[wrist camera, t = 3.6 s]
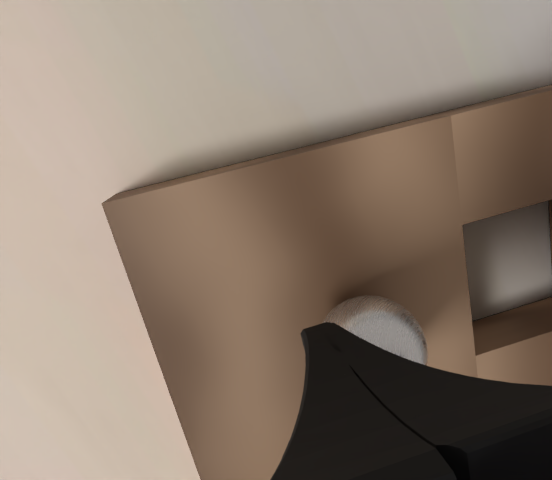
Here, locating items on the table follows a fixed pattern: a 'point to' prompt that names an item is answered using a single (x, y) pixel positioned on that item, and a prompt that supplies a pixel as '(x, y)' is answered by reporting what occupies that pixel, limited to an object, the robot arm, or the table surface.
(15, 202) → the table surface
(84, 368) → the table surface
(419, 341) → the ball
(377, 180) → the board
